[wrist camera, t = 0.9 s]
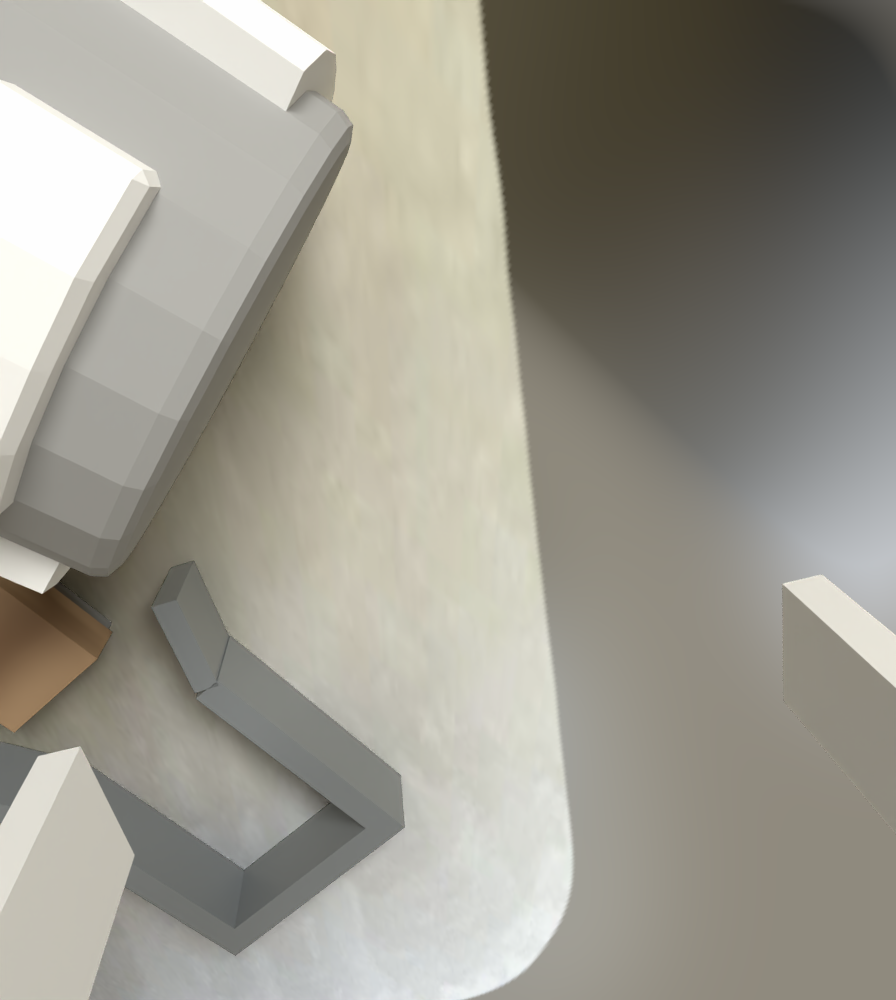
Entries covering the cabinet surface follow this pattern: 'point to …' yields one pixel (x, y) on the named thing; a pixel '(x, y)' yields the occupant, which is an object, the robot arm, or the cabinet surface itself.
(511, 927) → the cabinet surface
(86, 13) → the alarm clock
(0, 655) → the tan block yellow end
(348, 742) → the bay
